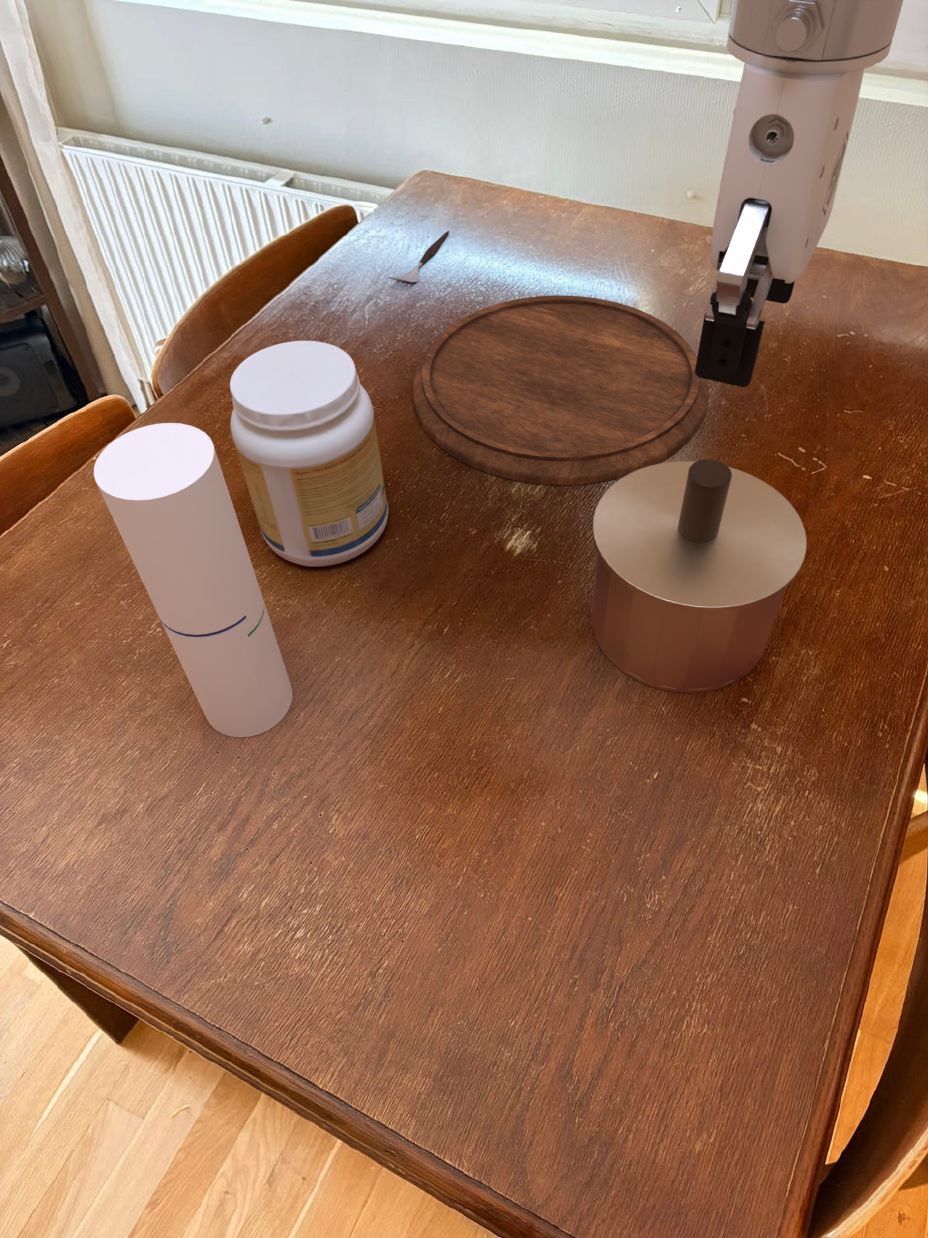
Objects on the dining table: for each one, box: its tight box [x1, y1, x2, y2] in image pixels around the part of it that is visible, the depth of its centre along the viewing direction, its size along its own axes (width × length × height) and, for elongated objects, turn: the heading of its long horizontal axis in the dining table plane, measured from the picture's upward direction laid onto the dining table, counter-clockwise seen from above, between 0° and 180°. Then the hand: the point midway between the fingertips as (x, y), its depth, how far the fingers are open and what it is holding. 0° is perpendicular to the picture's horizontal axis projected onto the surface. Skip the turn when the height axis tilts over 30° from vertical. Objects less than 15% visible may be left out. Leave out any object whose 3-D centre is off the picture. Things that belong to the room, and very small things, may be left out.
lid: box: [591, 458, 808, 613], centre depth 66 cm, size 16×16×7 cm
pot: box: [591, 552, 786, 694], centre depth 72 cm, size 15×15×10 cm
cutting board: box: [412, 294, 710, 486], centre depth 97 cm, size 32×32×2 cm
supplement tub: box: [229, 340, 389, 568], centre depth 79 cm, size 12×12×17 cm
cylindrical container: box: [93, 422, 294, 738], centre depth 63 cm, size 7×7×25 cm
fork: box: [388, 230, 450, 284], centre depth 117 cm, size 3×16×2 cm, turn 157°
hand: (744, 336), depth 55 cm, fingers open, 9 cm apart
